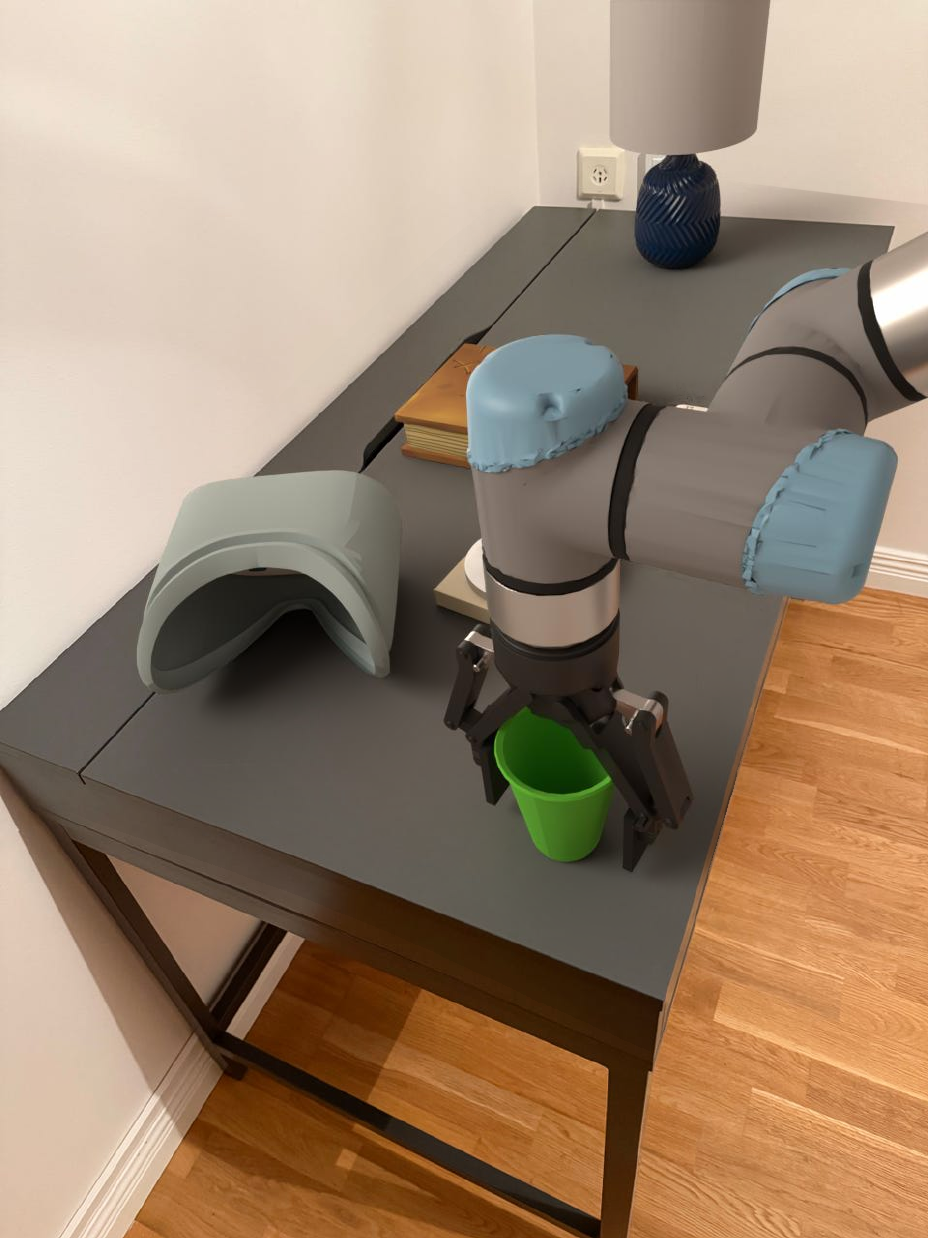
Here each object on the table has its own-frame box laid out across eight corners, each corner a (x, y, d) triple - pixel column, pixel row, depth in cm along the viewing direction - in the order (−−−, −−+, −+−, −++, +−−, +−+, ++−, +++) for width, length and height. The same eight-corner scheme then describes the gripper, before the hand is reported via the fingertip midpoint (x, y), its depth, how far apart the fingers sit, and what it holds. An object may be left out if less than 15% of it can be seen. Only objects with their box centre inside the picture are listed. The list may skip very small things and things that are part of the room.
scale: (616, 565, 89) (616, 547, 87) (551, 648, 82) (550, 631, 80) (505, 530, 95) (503, 513, 93) (436, 604, 88) (433, 587, 86)
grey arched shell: (411, 567, 92) (390, 462, 83) (402, 707, 78) (376, 600, 70) (203, 584, 94) (162, 484, 85) (159, 725, 80) (104, 623, 71)
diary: (637, 405, 110) (638, 362, 106) (580, 491, 98) (578, 446, 94) (472, 379, 119) (467, 338, 115) (401, 454, 108) (393, 412, 104)
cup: (645, 810, 68) (650, 717, 61) (595, 908, 63) (594, 820, 55) (540, 768, 72) (532, 676, 65) (484, 857, 67) (469, 768, 59)
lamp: (584, 273, 139) (580, -11, 114) (648, 226, 150) (657, -44, 124) (705, 296, 129) (730, -10, 104) (764, 244, 140) (800, -46, 114)
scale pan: (597, 551, 88) (597, 543, 87) (542, 620, 82) (541, 612, 81) (502, 521, 93) (502, 513, 92) (443, 584, 87) (442, 577, 86)
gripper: (776, 631, 48) (735, 851, 63) (427, 517, 59) (463, 729, 74) (723, 727, 44) (692, 938, 59) (357, 585, 55) (410, 795, 70)
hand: (565, 822), depth 67 cm, fingers open, 11 cm apart
